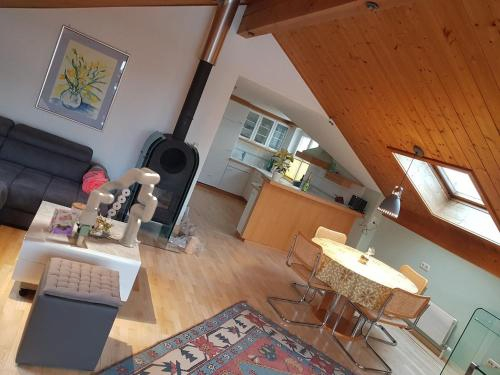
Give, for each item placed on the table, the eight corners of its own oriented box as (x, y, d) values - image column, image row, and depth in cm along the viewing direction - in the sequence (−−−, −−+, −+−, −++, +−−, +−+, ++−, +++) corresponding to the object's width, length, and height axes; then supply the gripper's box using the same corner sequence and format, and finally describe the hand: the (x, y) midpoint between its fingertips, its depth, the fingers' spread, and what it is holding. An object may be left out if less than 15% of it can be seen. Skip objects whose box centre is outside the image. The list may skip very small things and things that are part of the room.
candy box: (49, 233, 257) (57, 210, 255) (47, 229, 261) (55, 207, 259) (70, 235, 267) (78, 214, 265) (68, 232, 271) (76, 210, 269)
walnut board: (82, 238, 271) (84, 232, 270) (87, 249, 256) (90, 243, 256) (66, 235, 264) (68, 229, 263) (70, 247, 250) (72, 240, 249)
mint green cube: (85, 233, 259) (88, 224, 258) (87, 236, 255) (90, 227, 254) (77, 232, 256) (80, 222, 255) (78, 235, 251) (82, 226, 251)
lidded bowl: (66, 212, 306) (71, 199, 304) (82, 214, 315) (87, 201, 313) (71, 218, 297) (76, 205, 296) (87, 220, 306) (92, 207, 304)
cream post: (80, 244, 258) (83, 234, 257) (80, 246, 256) (84, 236, 255) (76, 243, 256) (79, 234, 256) (76, 245, 254) (80, 235, 253)
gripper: (103, 209, 261) (94, 233, 263) (77, 203, 251) (68, 229, 253) (105, 213, 255) (96, 238, 257) (79, 207, 245) (69, 233, 247)
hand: (82, 233), depth 255 cm, fingers closed on mint green cube, 5 cm apart
